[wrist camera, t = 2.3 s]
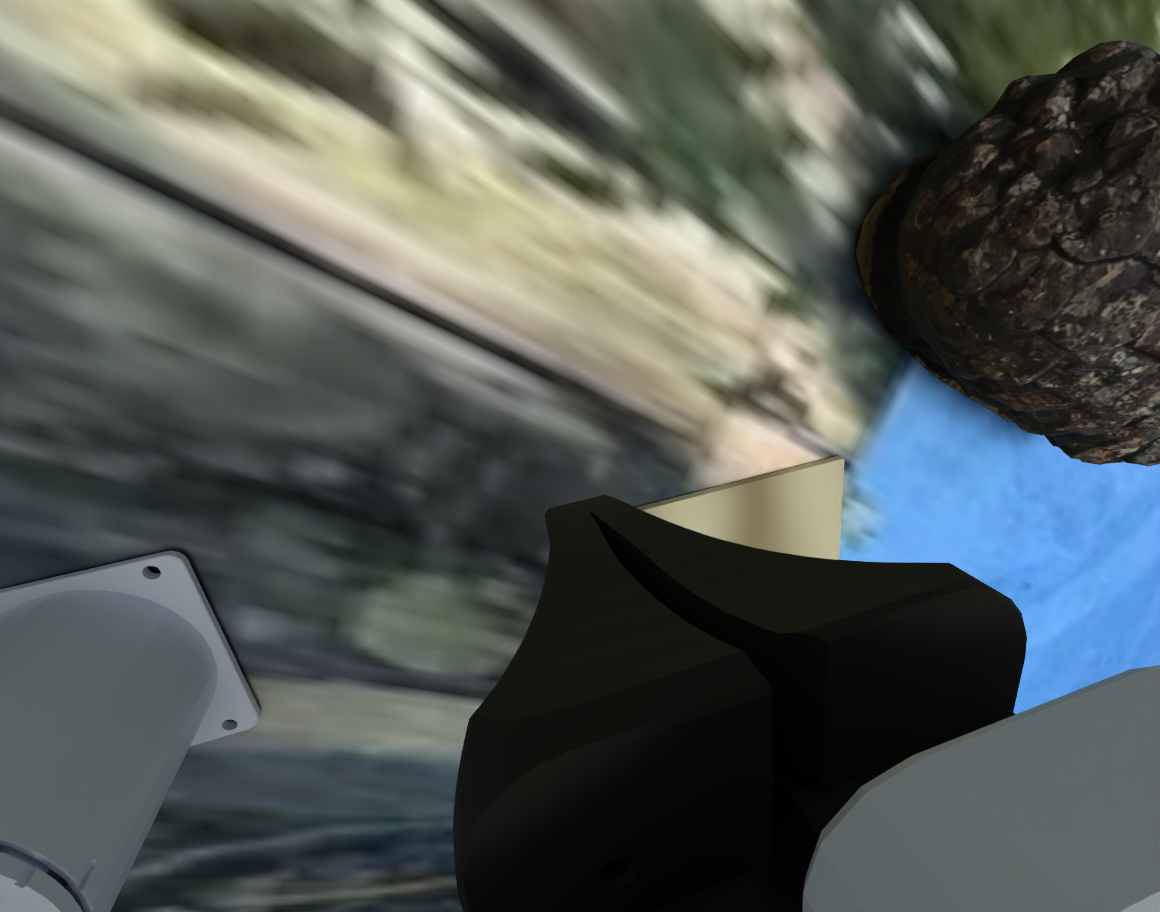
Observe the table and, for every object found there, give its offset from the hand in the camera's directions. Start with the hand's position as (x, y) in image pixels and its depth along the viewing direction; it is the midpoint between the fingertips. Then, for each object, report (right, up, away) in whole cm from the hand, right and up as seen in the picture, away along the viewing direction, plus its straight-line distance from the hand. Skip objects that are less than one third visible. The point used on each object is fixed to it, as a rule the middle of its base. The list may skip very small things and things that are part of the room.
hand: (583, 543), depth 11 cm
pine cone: (+18, +9, +13) cm, 24 cm away
